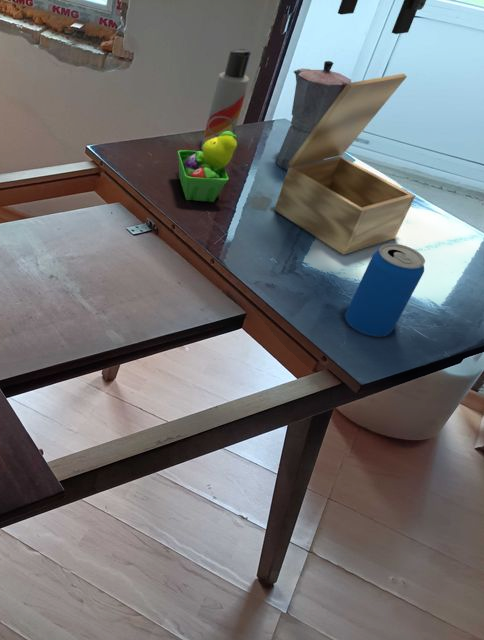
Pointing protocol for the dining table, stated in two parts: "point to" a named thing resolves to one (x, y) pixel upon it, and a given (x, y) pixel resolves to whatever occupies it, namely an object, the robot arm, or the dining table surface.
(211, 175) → the fruit basket
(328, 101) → the moka pot
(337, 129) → the wooden lid
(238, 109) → the lotion bottle
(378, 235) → the chest
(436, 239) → the dining table surface
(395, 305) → the beverage can
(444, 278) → the dining table surface
